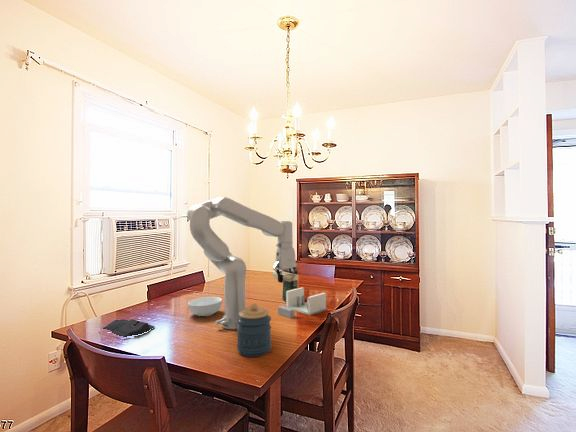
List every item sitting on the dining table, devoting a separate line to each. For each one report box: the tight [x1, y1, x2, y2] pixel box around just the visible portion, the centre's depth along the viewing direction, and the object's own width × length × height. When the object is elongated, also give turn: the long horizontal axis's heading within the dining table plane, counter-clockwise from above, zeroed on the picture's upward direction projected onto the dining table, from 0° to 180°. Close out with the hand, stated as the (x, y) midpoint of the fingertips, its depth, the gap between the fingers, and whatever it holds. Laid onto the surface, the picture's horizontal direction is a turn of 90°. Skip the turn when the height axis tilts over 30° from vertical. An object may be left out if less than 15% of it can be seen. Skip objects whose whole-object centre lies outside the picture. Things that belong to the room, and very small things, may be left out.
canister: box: [236, 302, 272, 358], centre depth 119 cm, size 13×13×18 cm
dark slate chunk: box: [102, 318, 156, 337], centre depth 141 cm, size 15×22×5 cm
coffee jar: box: [282, 267, 299, 302], centre depth 186 cm, size 10×8×19 cm
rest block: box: [277, 305, 295, 319], centre depth 158 cm, size 3×9×4 cm, turn 41°
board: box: [272, 271, 300, 282], centre depth 158 cm, size 6×13×2 cm, turn 41°
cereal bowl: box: [187, 296, 223, 317], centre depth 161 cm, size 17×17×7 cm
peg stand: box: [285, 286, 327, 316], centre depth 167 cm, size 12×18×9 cm, turn 41°
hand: (285, 280), depth 158 cm, fingers closed on board, 6 cm apart
